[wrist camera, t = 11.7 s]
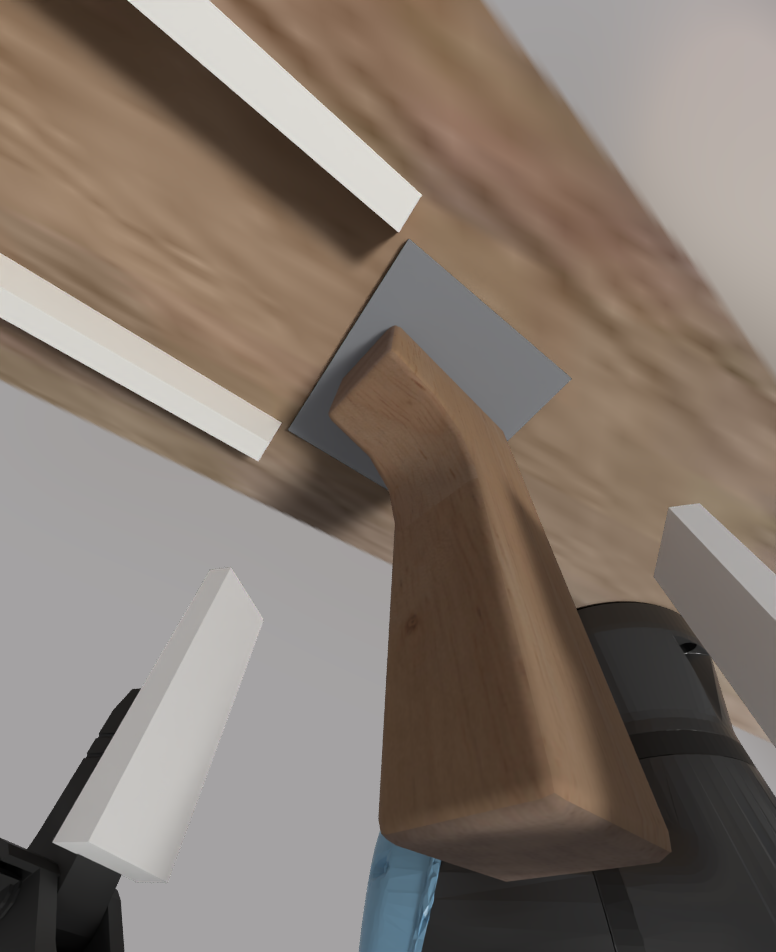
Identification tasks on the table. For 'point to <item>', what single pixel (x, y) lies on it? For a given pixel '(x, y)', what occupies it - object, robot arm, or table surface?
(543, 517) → the table surface
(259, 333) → the table surface
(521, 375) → the pad
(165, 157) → the table surface
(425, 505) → the wooden block
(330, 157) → the white u-shaped bracket
